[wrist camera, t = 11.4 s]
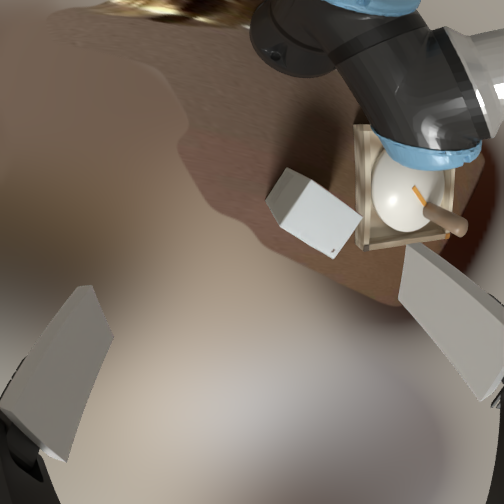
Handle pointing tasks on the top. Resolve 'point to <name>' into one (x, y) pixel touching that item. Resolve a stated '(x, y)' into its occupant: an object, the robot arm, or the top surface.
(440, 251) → the top surface
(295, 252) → the top surface
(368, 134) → the dial housing
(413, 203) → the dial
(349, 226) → the small box
